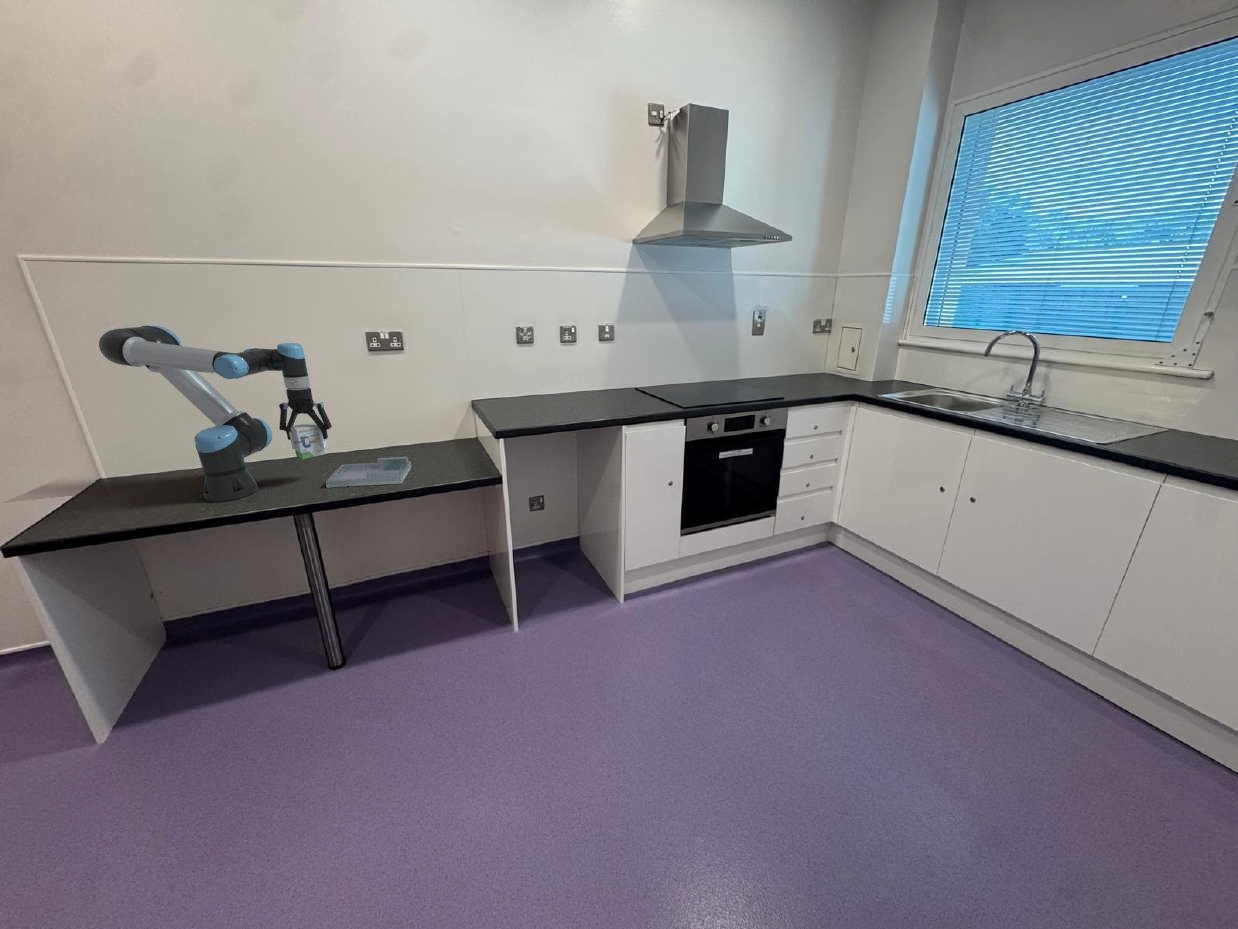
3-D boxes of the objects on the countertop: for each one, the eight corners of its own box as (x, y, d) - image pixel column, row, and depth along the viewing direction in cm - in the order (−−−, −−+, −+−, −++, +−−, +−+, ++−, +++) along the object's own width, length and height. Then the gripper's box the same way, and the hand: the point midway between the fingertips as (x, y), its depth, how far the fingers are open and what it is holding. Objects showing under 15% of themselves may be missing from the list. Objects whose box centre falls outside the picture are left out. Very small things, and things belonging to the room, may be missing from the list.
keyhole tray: (326, 487, 181) (324, 476, 179) (343, 470, 197) (341, 459, 196) (401, 483, 185) (400, 472, 184) (411, 466, 202) (410, 456, 200)
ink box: (320, 451, 189) (314, 421, 185) (326, 454, 186) (321, 424, 182) (295, 456, 183) (289, 426, 179) (302, 460, 180) (295, 428, 176)
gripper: (258, 390, 170) (272, 451, 178) (327, 389, 174) (338, 449, 182) (268, 386, 177) (281, 445, 185) (335, 385, 181) (345, 443, 189)
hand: (309, 447), depth 183 cm, fingers closed on ink box, 9 cm apart
